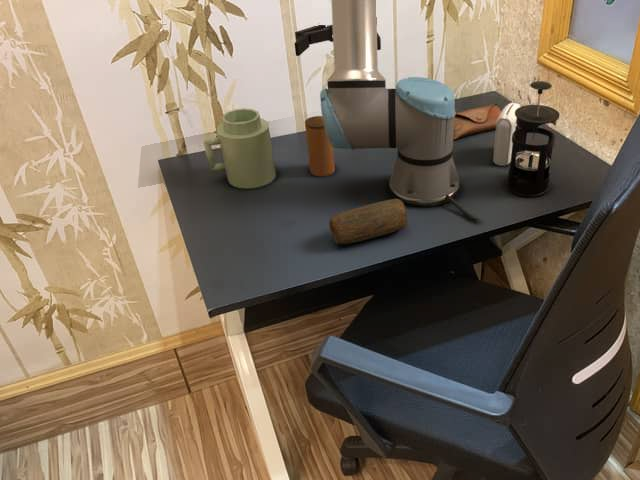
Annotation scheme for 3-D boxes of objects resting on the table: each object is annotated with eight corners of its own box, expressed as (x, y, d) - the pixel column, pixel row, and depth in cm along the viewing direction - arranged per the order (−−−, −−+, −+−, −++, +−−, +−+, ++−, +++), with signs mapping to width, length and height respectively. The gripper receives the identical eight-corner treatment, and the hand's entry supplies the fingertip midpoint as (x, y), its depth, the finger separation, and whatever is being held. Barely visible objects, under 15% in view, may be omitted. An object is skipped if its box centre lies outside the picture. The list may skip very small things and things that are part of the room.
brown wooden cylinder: (394, 217, 128) (393, 188, 124) (410, 234, 123) (410, 205, 119) (326, 236, 123) (323, 207, 118) (340, 255, 118) (338, 225, 114)
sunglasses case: (454, 139, 154) (448, 112, 152) (441, 143, 160) (435, 117, 159) (514, 124, 160) (508, 98, 159) (499, 129, 166) (494, 103, 165)
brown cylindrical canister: (336, 174, 142) (332, 124, 134) (312, 177, 141) (306, 128, 133) (332, 163, 146) (327, 114, 138) (308, 166, 145) (302, 117, 137)
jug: (279, 184, 139) (269, 123, 129) (213, 194, 136) (199, 131, 127) (273, 162, 147) (263, 102, 138) (211, 170, 144) (197, 110, 135)
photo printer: (502, 146, 152) (507, 96, 144) (519, 149, 151) (525, 99, 143) (490, 164, 145) (494, 114, 137) (508, 167, 143) (513, 116, 135)
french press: (558, 194, 134) (576, 89, 119) (520, 202, 132) (533, 96, 117) (531, 169, 143) (545, 69, 128) (495, 177, 140) (504, 75, 125)
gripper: (405, 43, 150) (381, 73, 134) (308, 36, 155) (275, 65, 139) (405, 9, 145) (380, 37, 130) (305, 4, 150) (270, 30, 134)
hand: (325, 51), depth 134 cm, fingers open, 13 cm apart
